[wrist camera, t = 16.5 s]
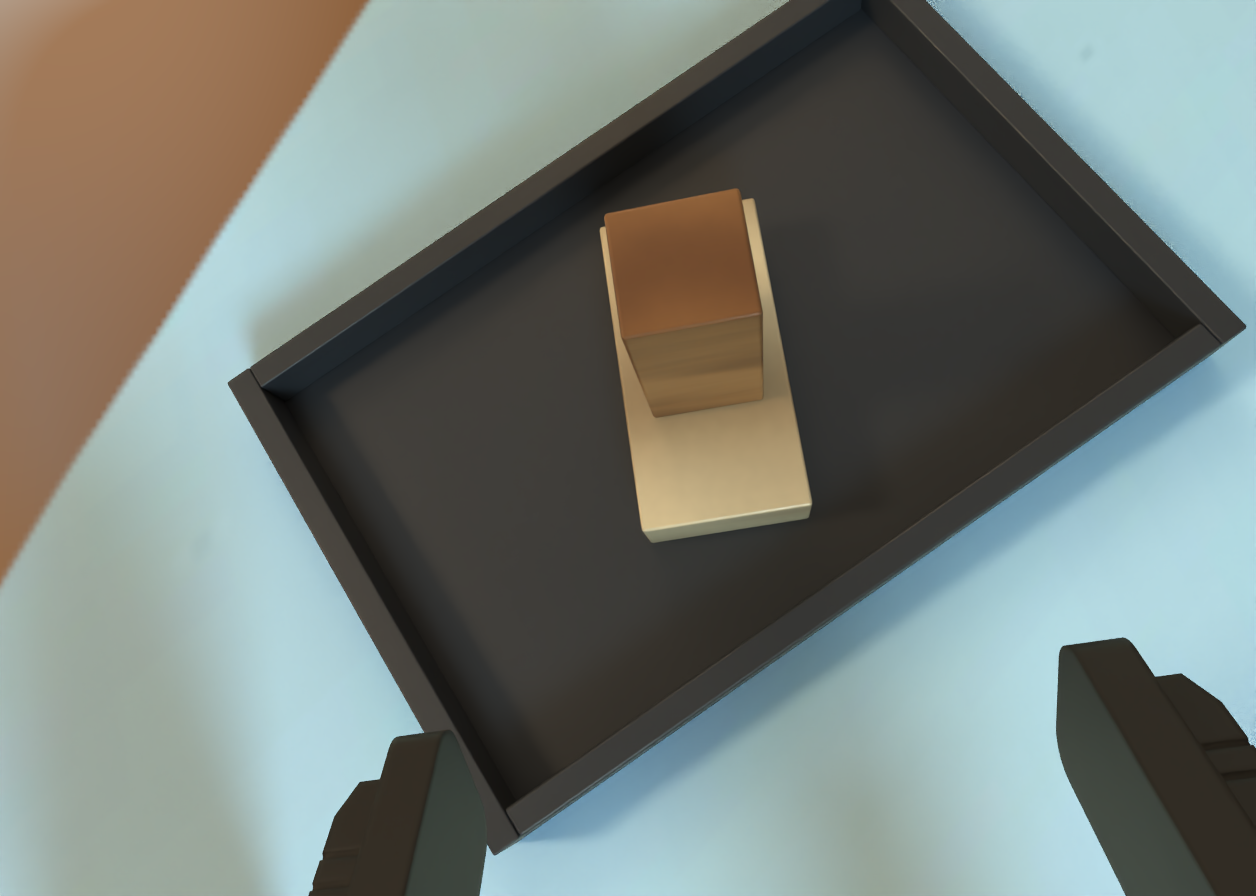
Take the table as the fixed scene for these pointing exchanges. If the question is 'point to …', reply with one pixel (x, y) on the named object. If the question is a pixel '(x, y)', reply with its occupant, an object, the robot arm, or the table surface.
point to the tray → (817, 369)
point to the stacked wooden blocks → (702, 368)
